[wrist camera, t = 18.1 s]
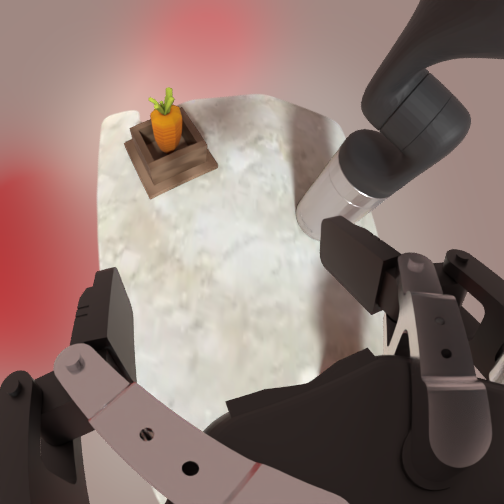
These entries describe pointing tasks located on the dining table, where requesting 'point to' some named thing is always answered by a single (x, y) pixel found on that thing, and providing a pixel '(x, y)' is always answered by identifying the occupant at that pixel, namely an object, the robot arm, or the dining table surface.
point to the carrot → (166, 123)
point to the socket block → (168, 157)
